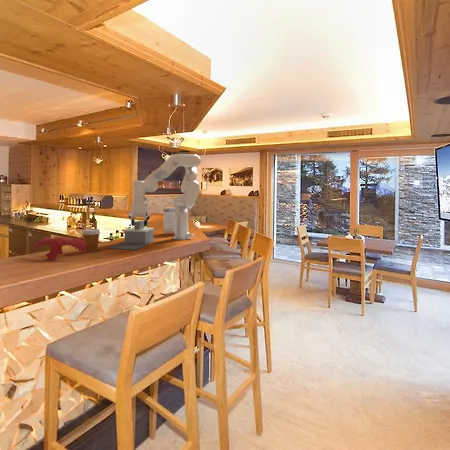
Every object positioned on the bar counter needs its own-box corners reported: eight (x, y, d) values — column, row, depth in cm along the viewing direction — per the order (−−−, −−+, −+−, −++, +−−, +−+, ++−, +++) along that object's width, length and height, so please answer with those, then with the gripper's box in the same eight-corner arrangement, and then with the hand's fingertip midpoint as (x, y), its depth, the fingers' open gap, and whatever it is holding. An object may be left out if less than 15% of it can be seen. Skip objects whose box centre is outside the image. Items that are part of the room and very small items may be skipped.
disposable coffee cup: (99, 252, 185) (99, 230, 184) (81, 252, 183) (80, 231, 181) (101, 248, 194) (100, 228, 193) (83, 249, 192) (83, 228, 190)
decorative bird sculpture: (83, 268, 167) (92, 243, 176) (75, 258, 159) (85, 233, 168) (30, 265, 169) (41, 241, 178) (20, 256, 162) (33, 231, 170)
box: (153, 240, 226) (153, 229, 225) (145, 244, 212) (145, 232, 211) (134, 239, 228) (134, 228, 227) (124, 243, 214) (124, 231, 213)
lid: (154, 230, 225) (154, 220, 224) (145, 233, 211) (145, 222, 210) (133, 229, 227) (133, 219, 226) (124, 232, 213) (123, 221, 212)
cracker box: (183, 233, 261) (183, 207, 258) (181, 235, 255) (181, 208, 252) (165, 233, 262) (165, 206, 260) (163, 234, 256) (163, 207, 254)
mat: (147, 244, 210) (147, 244, 210) (135, 250, 193) (135, 249, 193) (121, 243, 213) (121, 242, 213) (106, 248, 196) (106, 247, 196)
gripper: (154, 199, 219) (154, 226, 221) (129, 198, 221) (129, 224, 223) (149, 200, 211) (149, 227, 213) (124, 199, 214) (124, 226, 216)
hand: (139, 225), depth 218 cm, fingers open, 8 cm apart
